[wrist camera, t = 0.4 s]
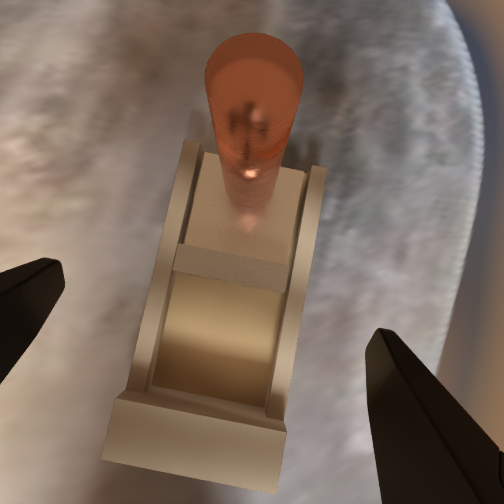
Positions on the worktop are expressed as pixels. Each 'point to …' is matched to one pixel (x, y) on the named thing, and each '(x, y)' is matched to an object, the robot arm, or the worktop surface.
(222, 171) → the knobbed slide block
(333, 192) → the worktop surface
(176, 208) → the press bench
